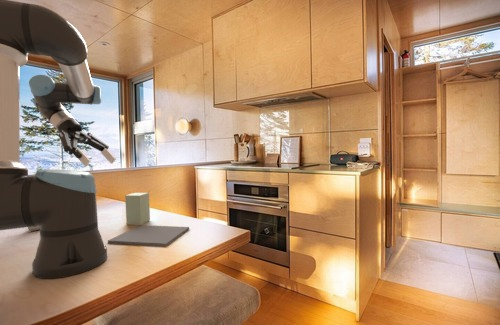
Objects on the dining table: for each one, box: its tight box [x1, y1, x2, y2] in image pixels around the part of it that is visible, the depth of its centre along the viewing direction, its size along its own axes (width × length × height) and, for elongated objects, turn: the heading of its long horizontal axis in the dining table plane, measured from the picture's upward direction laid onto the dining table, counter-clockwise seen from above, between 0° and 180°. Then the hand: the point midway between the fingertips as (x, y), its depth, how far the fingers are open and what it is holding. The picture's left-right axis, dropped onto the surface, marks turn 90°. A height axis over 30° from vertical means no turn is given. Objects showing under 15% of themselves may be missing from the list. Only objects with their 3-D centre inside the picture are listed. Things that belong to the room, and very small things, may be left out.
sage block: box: [124, 192, 151, 226], centre depth 101 cm, size 6×6×11 cm
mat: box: [107, 224, 190, 247], centre depth 85 cm, size 16×19×1 cm
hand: (101, 162), depth 103 cm, fingers open, 13 cm apart
